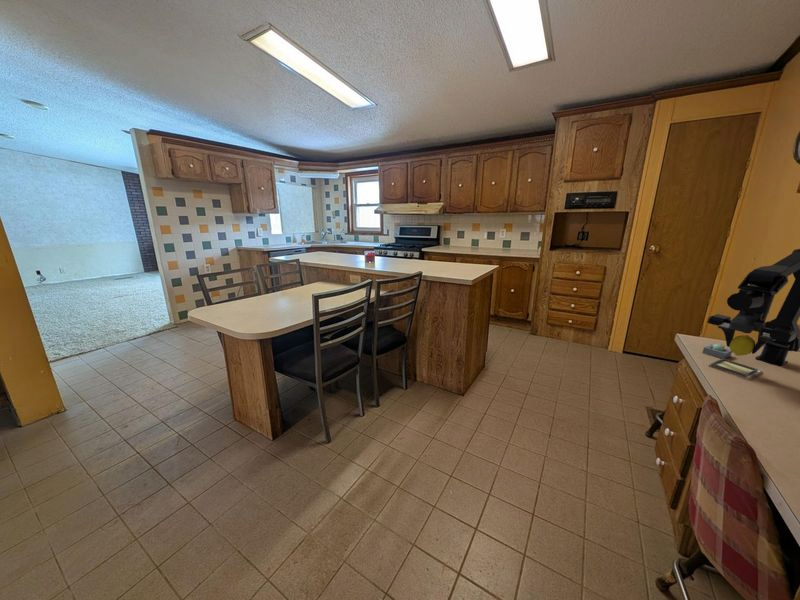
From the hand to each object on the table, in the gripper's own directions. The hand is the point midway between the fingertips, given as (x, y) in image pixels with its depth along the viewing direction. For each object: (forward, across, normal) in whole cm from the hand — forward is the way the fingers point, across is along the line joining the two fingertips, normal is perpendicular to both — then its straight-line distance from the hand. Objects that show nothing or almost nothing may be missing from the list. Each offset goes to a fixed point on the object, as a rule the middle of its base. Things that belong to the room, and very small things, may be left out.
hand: (740, 349), depth 100 cm
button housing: (+8, -8, +10) cm, 15 cm away
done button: (+7, -8, +10) cm, 15 cm away
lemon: (+2, 0, 0) cm, 3 cm away
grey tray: (+8, 0, +1) cm, 8 cm away
